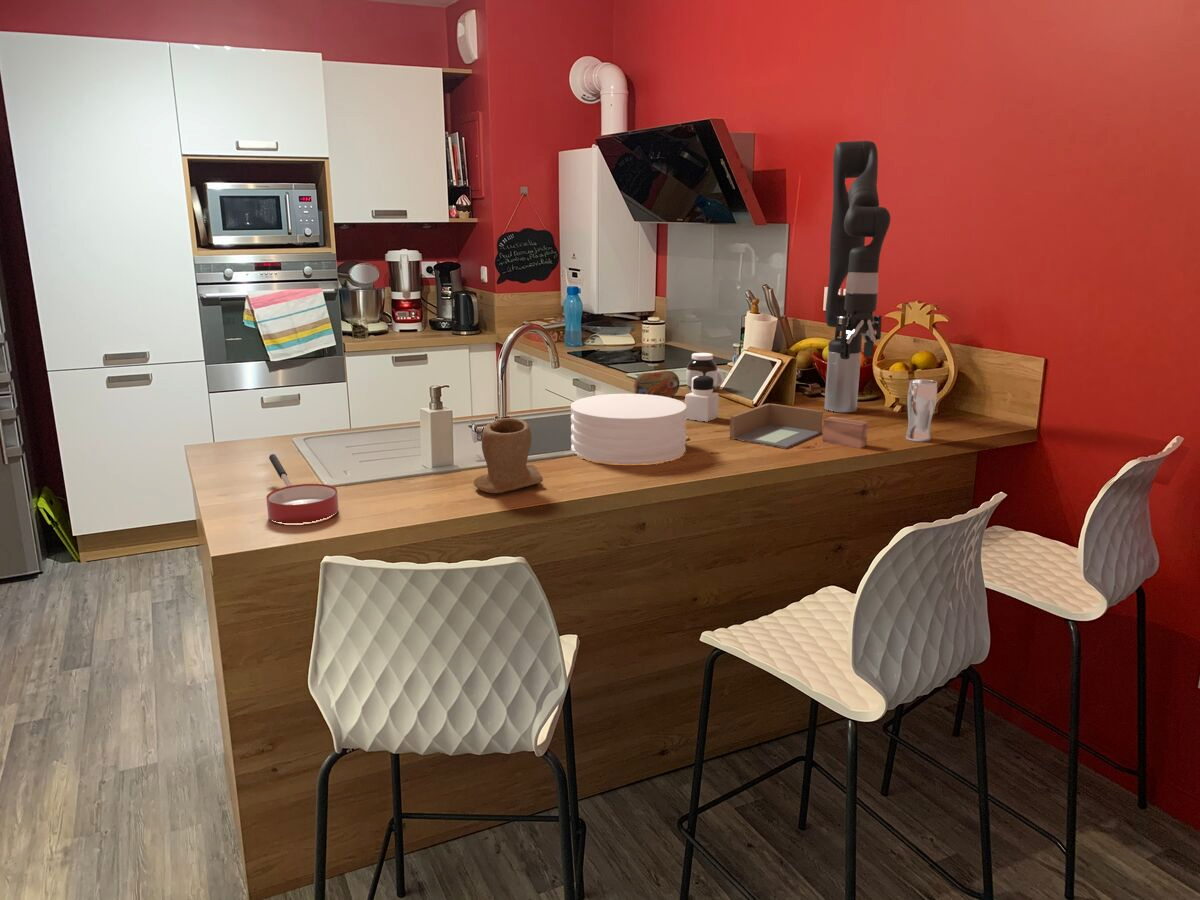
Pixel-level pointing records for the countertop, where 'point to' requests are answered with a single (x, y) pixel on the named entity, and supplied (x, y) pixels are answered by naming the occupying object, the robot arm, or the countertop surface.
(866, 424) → the block
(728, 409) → the countertop surface
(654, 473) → the countertop surface
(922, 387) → the beer glass
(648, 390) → the tin
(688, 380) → the spread jar
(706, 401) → the medicine bottle
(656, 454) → the plate stack
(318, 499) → the frying pan
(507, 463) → the stone cup
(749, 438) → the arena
